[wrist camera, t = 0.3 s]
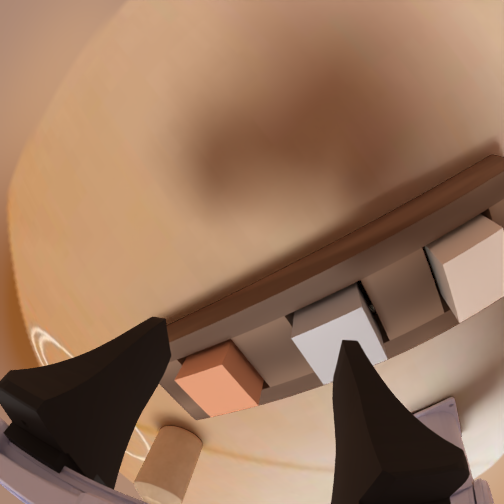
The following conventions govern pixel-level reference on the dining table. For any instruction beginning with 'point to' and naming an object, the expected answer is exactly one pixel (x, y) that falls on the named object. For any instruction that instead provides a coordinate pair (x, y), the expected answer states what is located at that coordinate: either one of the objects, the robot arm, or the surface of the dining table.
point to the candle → (168, 466)
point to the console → (338, 277)
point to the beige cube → (469, 266)
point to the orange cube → (220, 379)
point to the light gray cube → (336, 330)
